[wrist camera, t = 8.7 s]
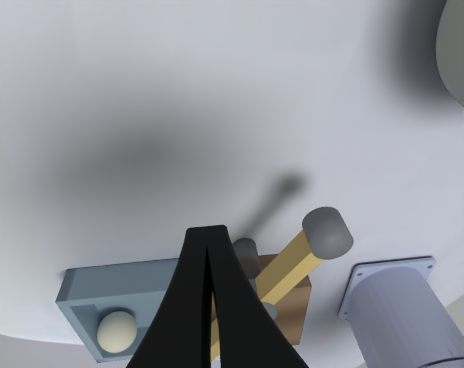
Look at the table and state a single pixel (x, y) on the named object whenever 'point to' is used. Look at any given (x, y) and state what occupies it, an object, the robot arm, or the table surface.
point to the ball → (117, 332)
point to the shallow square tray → (114, 299)
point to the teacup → (452, 48)
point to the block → (289, 305)
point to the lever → (297, 261)
